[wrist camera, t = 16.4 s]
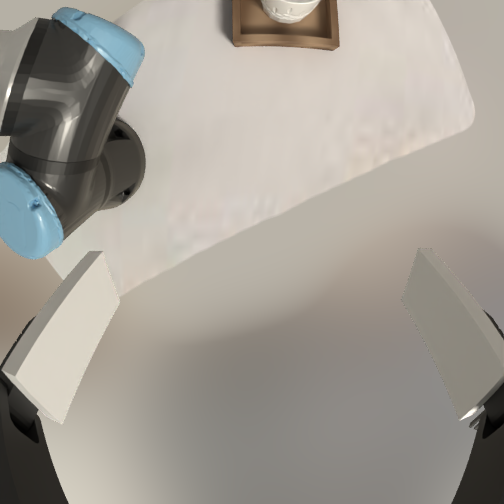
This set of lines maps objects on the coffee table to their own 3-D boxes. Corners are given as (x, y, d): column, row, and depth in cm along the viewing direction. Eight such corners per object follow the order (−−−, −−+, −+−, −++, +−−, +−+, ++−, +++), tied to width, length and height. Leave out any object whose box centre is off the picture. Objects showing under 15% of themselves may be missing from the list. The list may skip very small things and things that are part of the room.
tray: (234, 46, 30) (232, 41, 27) (233, -26, 23) (231, -36, 20) (332, 50, 29) (339, 46, 26) (327, -22, 22) (332, -30, 19)
